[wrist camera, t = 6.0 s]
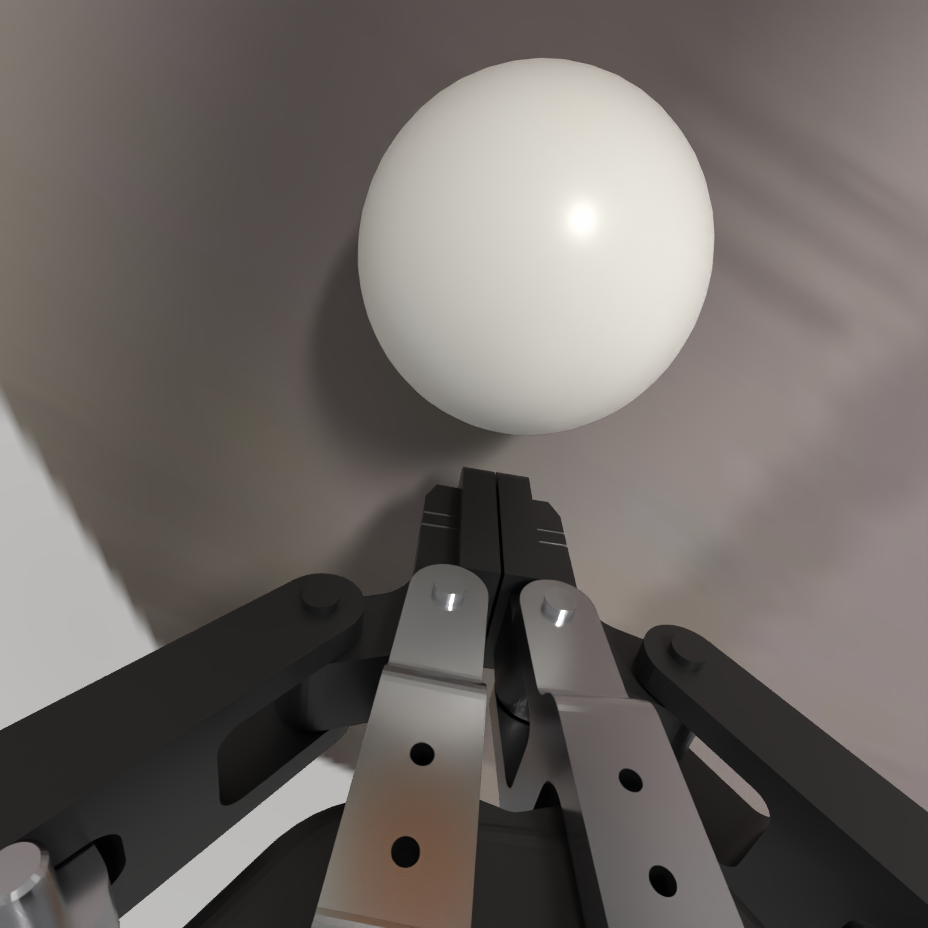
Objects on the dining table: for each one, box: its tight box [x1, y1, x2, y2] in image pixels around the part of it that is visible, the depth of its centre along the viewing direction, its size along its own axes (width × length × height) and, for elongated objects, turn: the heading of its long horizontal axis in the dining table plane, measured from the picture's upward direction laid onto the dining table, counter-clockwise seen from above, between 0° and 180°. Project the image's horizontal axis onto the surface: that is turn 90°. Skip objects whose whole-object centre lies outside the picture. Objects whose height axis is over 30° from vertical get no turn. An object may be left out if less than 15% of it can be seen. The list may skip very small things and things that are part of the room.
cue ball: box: [358, 58, 714, 435], centre depth 9 cm, size 6×6×6 cm
